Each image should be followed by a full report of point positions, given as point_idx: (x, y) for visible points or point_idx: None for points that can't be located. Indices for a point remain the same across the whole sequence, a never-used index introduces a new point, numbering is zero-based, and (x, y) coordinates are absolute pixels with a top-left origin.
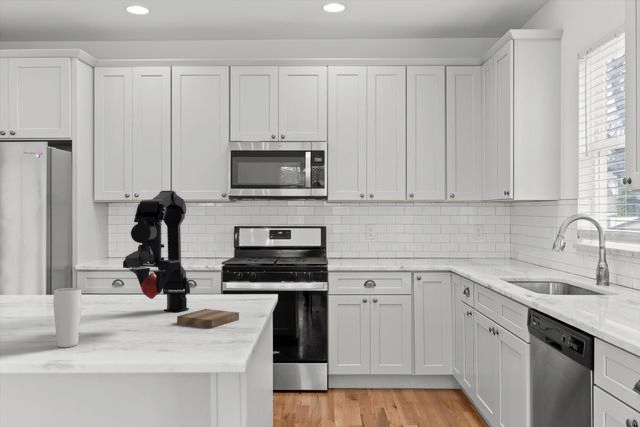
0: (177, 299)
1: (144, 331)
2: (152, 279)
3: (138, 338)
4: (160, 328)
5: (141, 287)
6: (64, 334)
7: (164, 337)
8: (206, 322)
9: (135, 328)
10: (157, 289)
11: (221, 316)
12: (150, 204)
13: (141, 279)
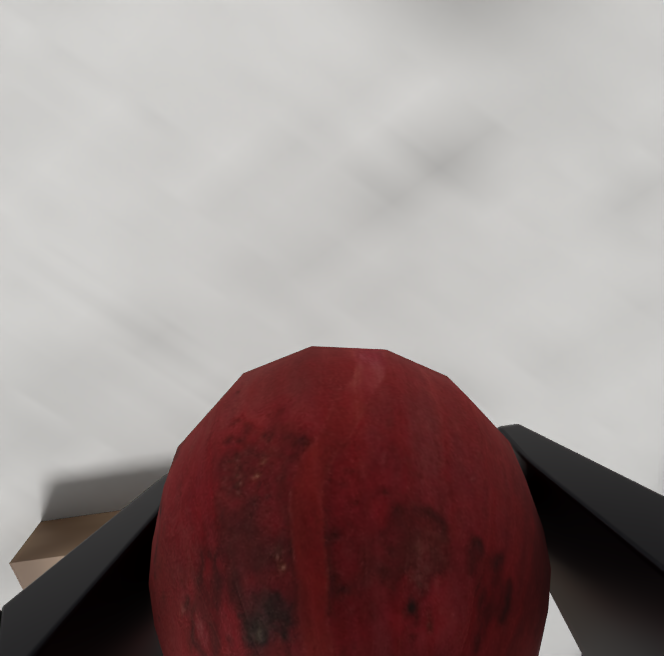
0: None
1: (301, 216)
2: (203, 651)
3: (119, 31)
4: (292, 343)
5: (449, 389)
6: None
7: (8, 186)
8: (66, 541)
9: (444, 236)
10: (149, 501)
11: None
12: None
13: (645, 579)
